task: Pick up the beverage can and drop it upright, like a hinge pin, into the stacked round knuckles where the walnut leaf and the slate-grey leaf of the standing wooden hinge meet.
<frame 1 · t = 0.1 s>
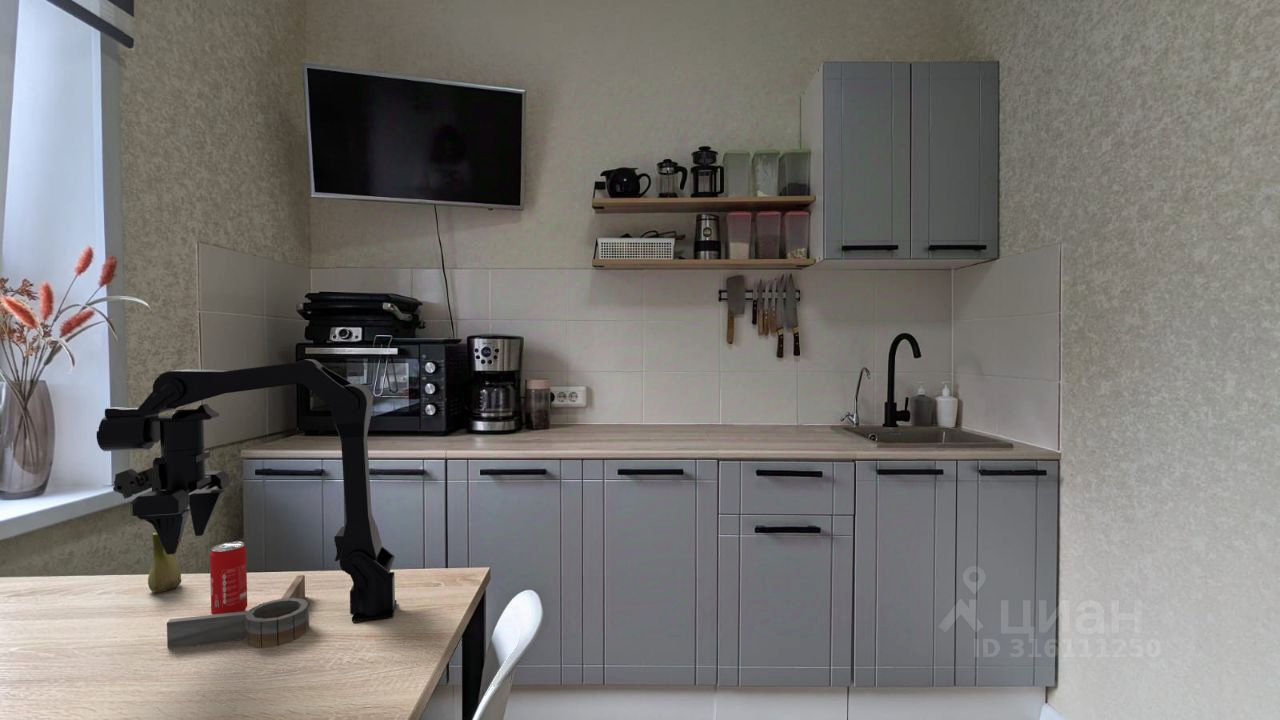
hand: (185, 544, 100), 14 cm above the table, fingers open, 9 cm apart
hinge: (277, 633, 100), on the table
beverage can: (229, 616, 107), on the table
fennel bulb: (164, 590, 118), on the table
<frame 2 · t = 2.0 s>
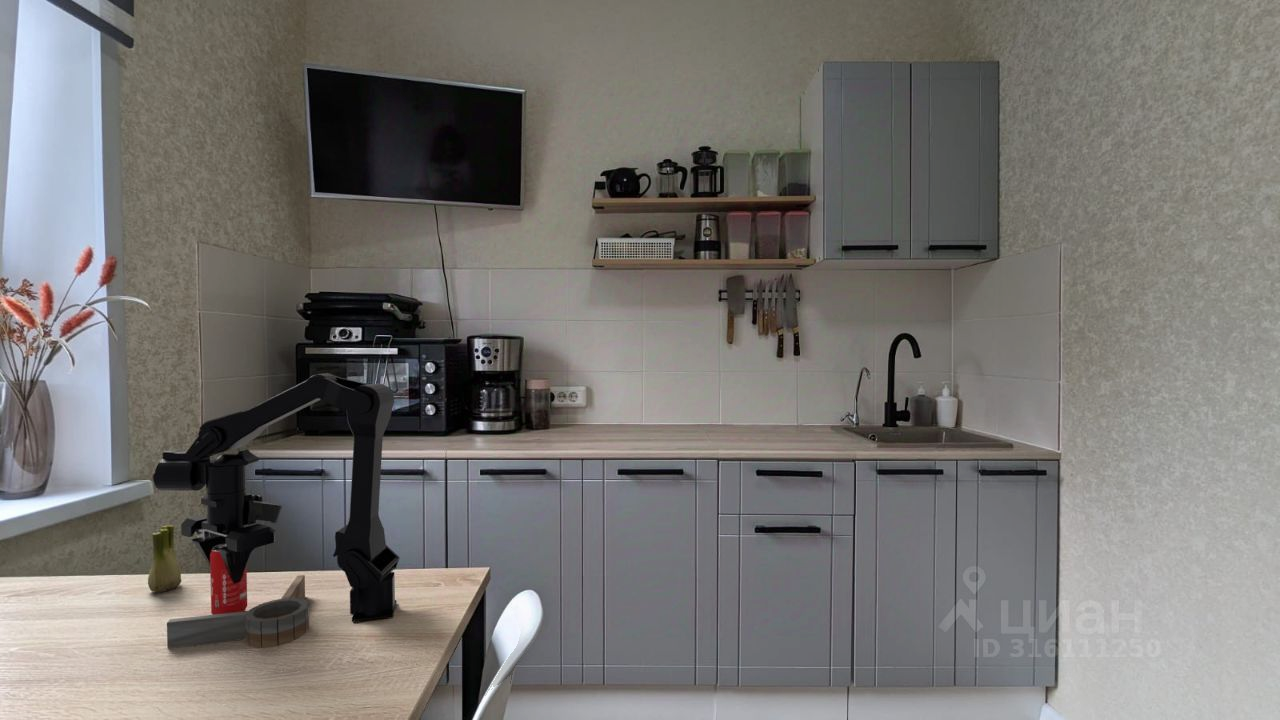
hand: (228, 580, 107), 6 cm above the table, fingers closed on beverage can, 5 cm apart
beverage can: (229, 615, 107), on the table, touching gripper
everything else where it was.
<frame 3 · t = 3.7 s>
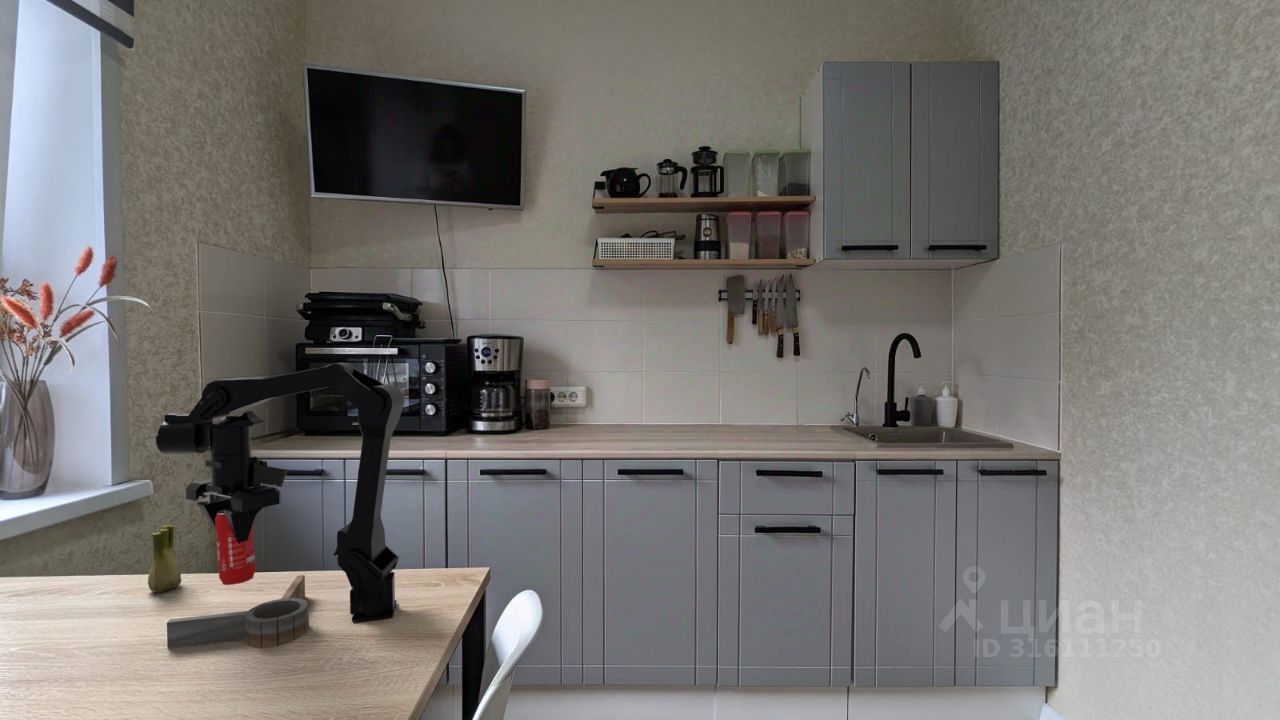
hand: (234, 543, 106), 13 cm above the table, fingers closed on beverage can, 5 cm apart
beverage can: (238, 581, 106), point 6 cm above the table, touching gripper
everything else where it was.
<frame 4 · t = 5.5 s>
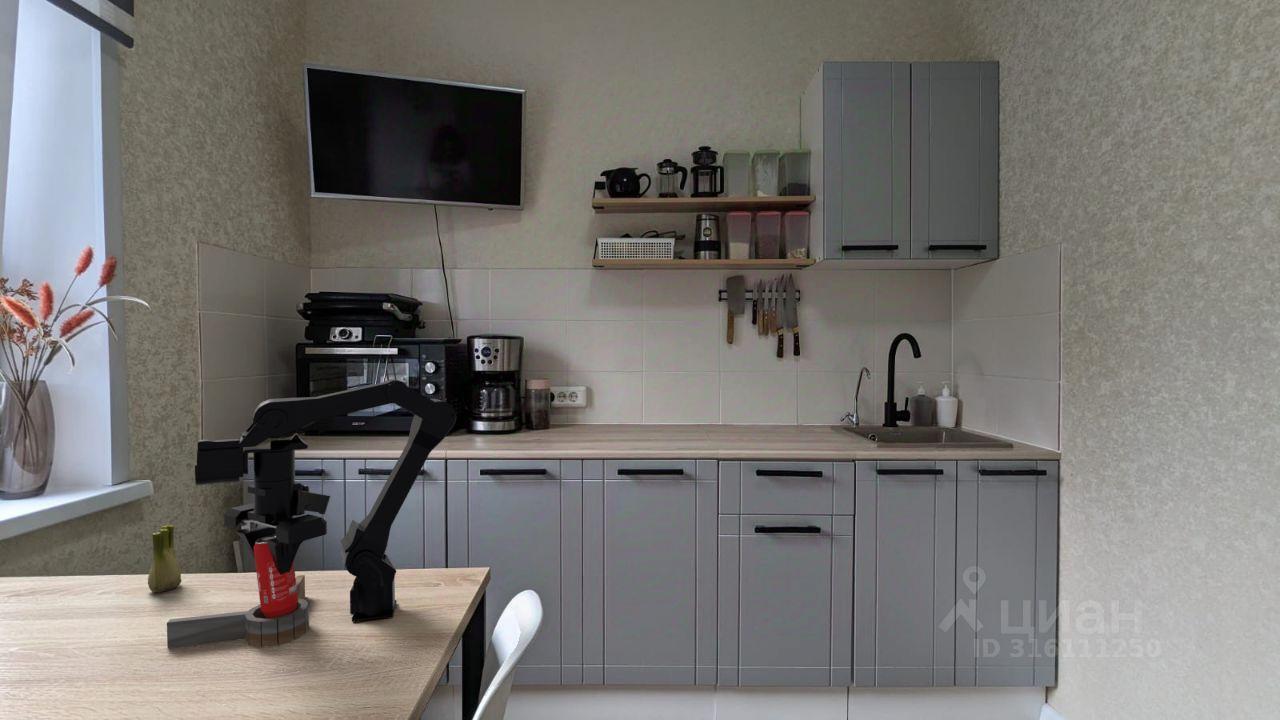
hand: (275, 574, 100), 10 cm above the table, fingers closed on beverage can, 5 cm apart
beverage can: (280, 612, 100), point 4 cm above the table, touching gripper, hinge
everything else where it was.
when the fingers open (10 cm above the table, at t = 6.7 s): beverage can stays where it is, resting on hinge.
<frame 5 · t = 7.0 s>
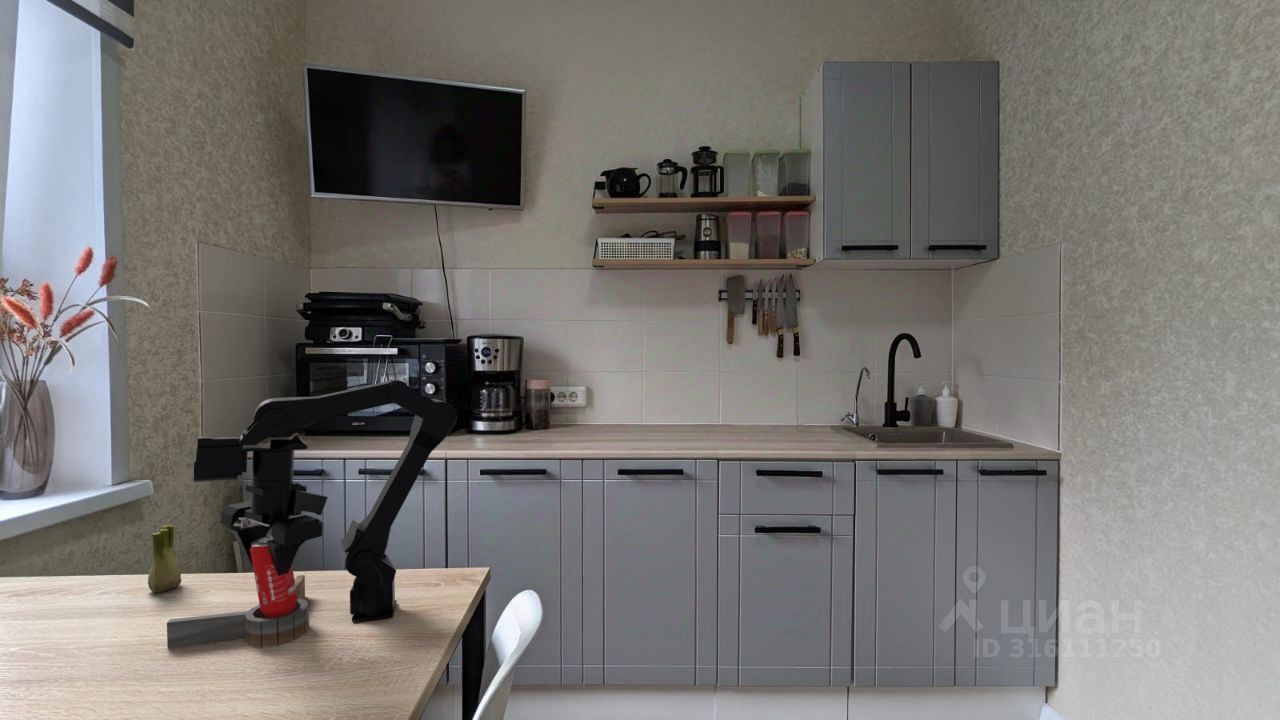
hand: (269, 574, 100), 10 cm above the table, fingers open, 7 cm apart
beverage can: (280, 611, 100), point 4 cm above the table, touching gripper, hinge
everything else where it was.
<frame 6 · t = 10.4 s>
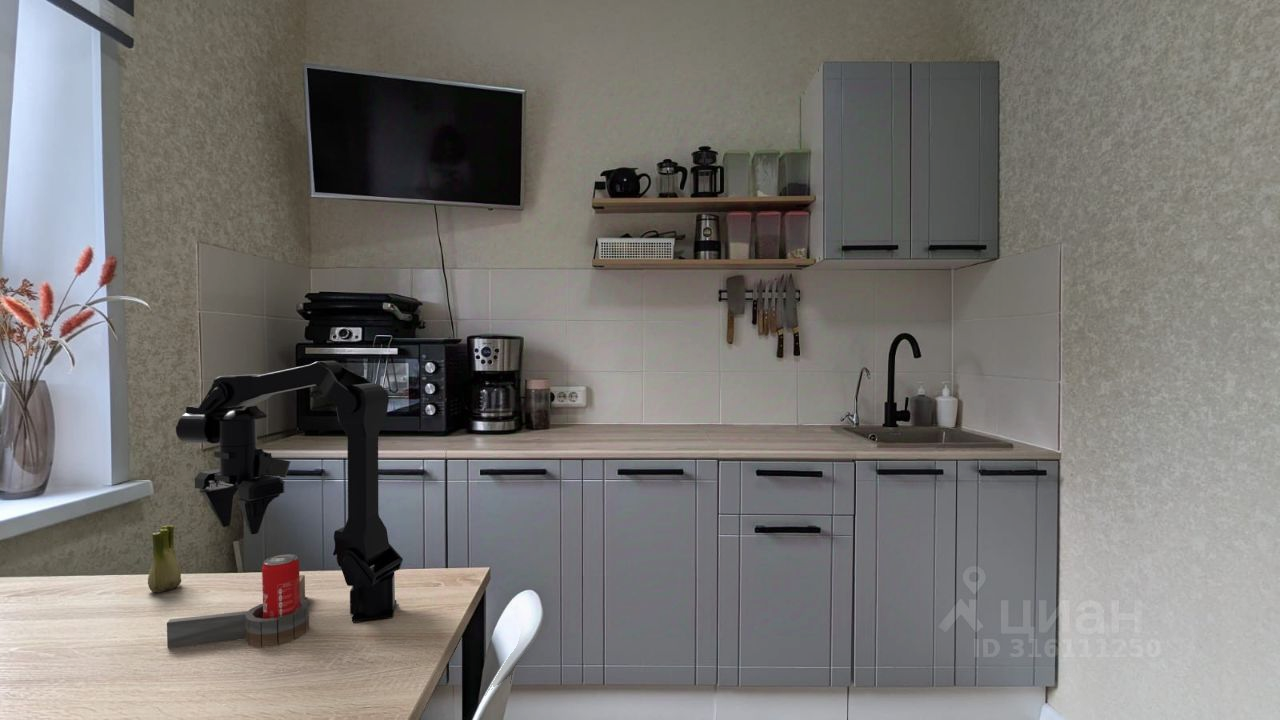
hand: (240, 530, 112), 13 cm above the table, fingers open, 9 cm apart
beverage can: (282, 633, 100), resting in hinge
everything else where it was.
at the end: beverage can 0.7 cm from the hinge (horizontally); beverage can tilted 1°; the gripper is holding nothing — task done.
